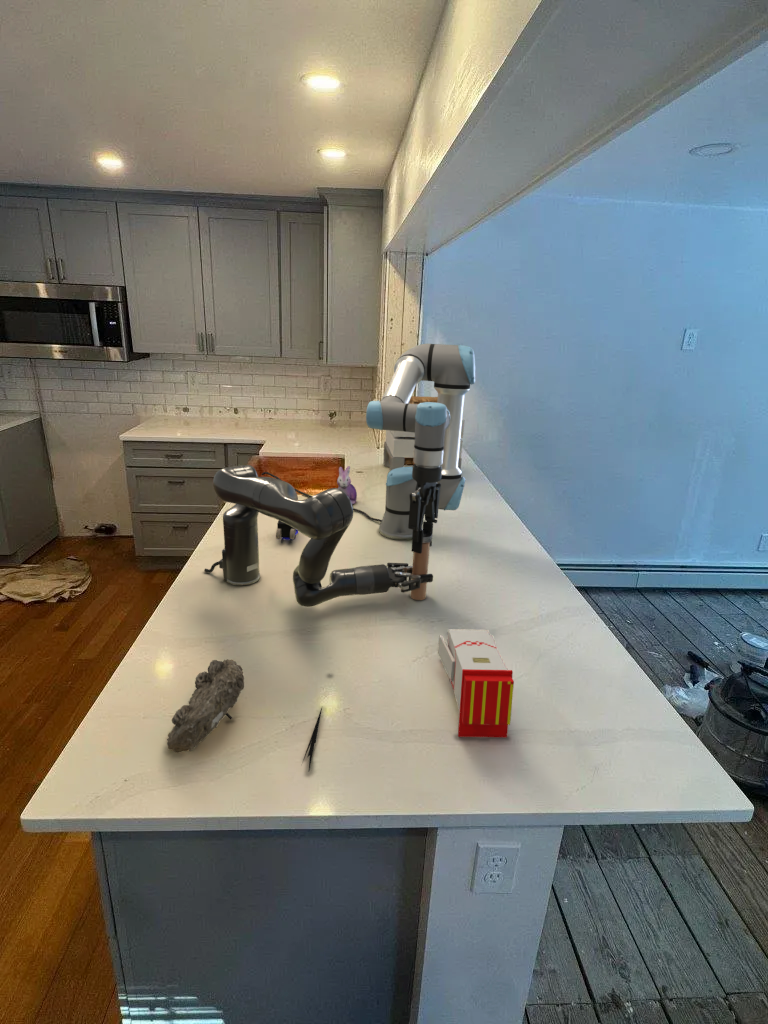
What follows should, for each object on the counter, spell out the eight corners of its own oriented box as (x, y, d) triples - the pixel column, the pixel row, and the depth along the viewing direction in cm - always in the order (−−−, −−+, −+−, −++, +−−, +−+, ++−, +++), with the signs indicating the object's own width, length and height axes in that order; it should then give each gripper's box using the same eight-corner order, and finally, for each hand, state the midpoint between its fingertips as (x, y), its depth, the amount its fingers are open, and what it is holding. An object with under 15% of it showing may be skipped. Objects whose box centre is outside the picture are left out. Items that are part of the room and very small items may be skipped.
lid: (408, 538, 151) (408, 532, 151) (422, 534, 155) (423, 528, 154) (421, 544, 148) (422, 539, 147) (436, 540, 151) (436, 534, 150)
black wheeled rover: (295, 549, 186) (301, 528, 200) (295, 529, 183) (300, 509, 196) (275, 549, 186) (282, 527, 199) (274, 528, 183) (281, 508, 196)
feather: (331, 679, 122) (336, 673, 122) (307, 777, 96) (313, 769, 95) (324, 675, 122) (329, 669, 121) (298, 772, 95) (304, 764, 95)
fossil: (192, 660, 117) (244, 628, 112) (224, 691, 120) (276, 661, 115) (142, 746, 98) (202, 712, 93) (182, 779, 101) (242, 748, 96)
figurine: (340, 508, 222) (341, 471, 217) (330, 500, 231) (330, 464, 226) (362, 505, 226) (363, 469, 221) (351, 497, 235) (352, 462, 230)
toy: (488, 613, 130) (523, 677, 101) (484, 667, 133) (517, 744, 104) (435, 612, 130) (455, 676, 101) (432, 666, 133) (451, 743, 103)
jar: (424, 592, 159) (429, 532, 153) (427, 600, 155) (431, 539, 149) (409, 592, 159) (413, 532, 153) (411, 600, 155) (415, 539, 149)
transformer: (382, 463, 289) (386, 382, 275) (445, 464, 293) (451, 384, 279) (390, 482, 257) (394, 392, 243) (460, 483, 261) (468, 394, 247)
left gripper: (377, 579, 143) (440, 572, 148) (362, 556, 156) (420, 550, 161) (376, 605, 145) (438, 598, 150) (361, 580, 158) (419, 574, 163)
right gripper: (430, 455, 153) (424, 535, 161) (397, 469, 139) (392, 556, 146) (455, 460, 150) (448, 541, 158) (424, 474, 135) (418, 563, 143)
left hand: (428, 573), depth 156 cm, fingers closed on jar, 4 cm apart
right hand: (421, 548), depth 152 cm, fingers closed on lid, 5 cm apart
